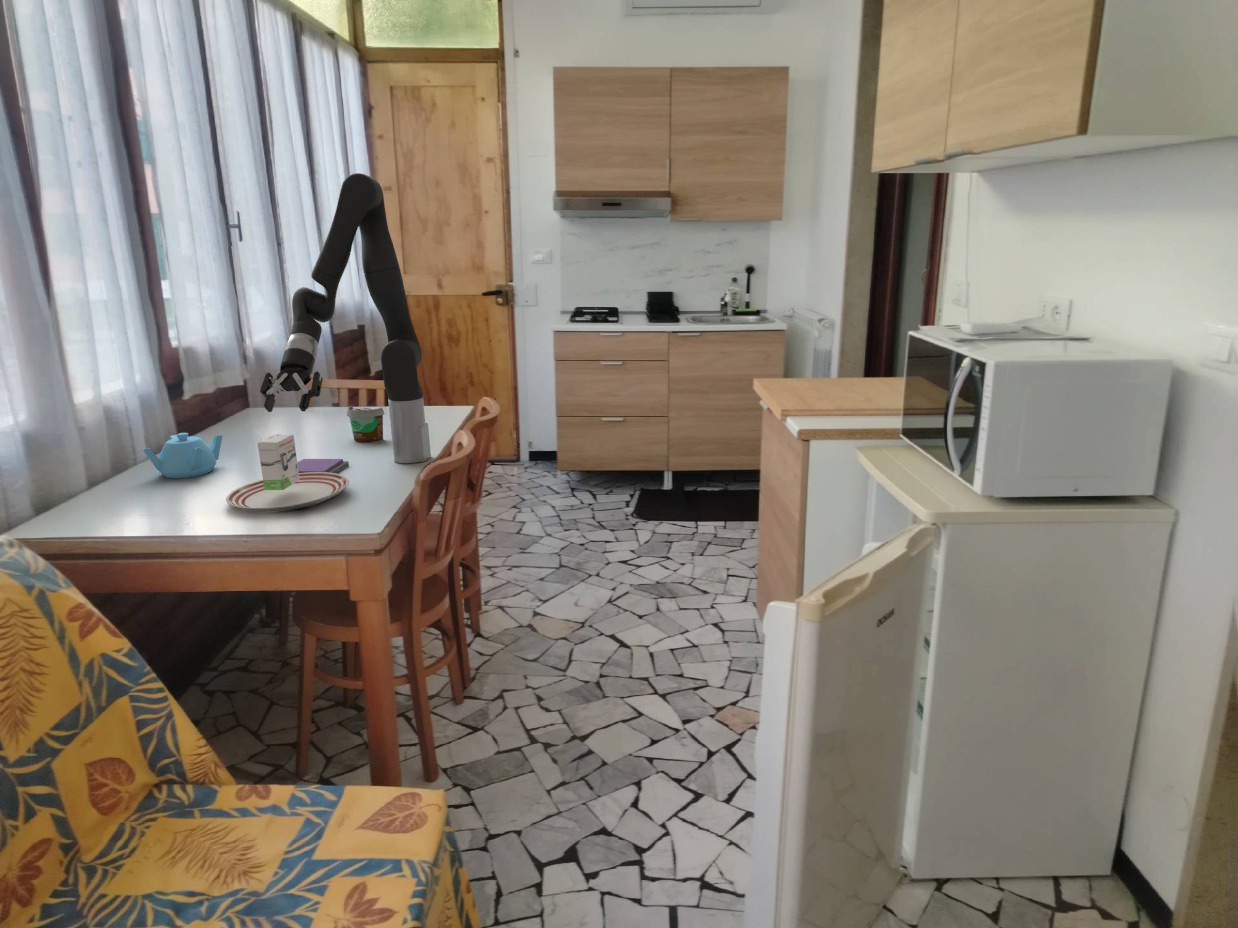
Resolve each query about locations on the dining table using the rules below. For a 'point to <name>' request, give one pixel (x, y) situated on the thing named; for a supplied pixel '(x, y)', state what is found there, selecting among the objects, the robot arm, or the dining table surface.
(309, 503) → the dinner plate
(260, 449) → the ink box
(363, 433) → the food container
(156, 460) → the teapot
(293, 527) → the dining table surface
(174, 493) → the dining table surface
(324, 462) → the ink pad
